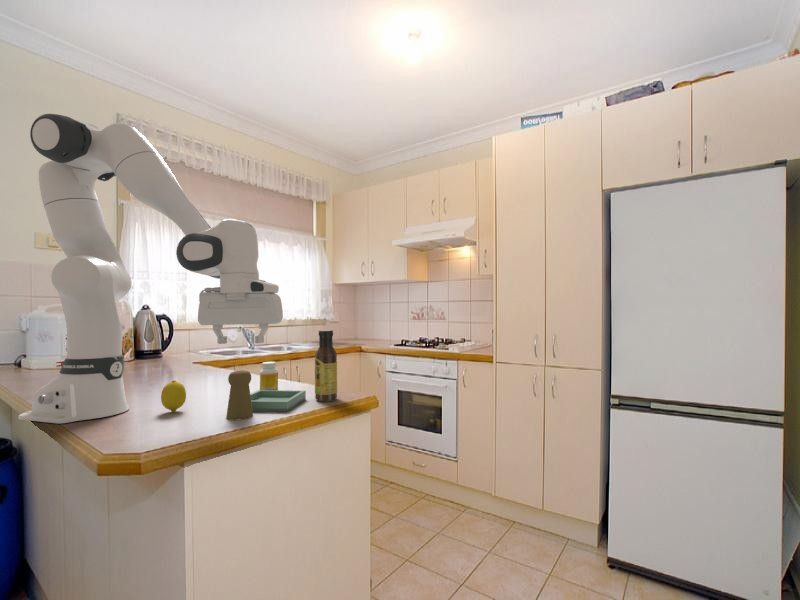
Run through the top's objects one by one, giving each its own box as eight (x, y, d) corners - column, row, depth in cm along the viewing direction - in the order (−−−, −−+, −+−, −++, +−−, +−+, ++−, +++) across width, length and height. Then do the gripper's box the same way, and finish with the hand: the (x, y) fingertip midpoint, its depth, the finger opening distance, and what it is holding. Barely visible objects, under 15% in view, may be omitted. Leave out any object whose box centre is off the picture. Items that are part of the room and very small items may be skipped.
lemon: (155, 413, 100) (156, 381, 100) (175, 408, 105) (175, 377, 105) (171, 415, 98) (171, 382, 98) (191, 410, 103) (191, 379, 103)
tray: (234, 410, 102) (234, 401, 102) (258, 398, 116) (258, 390, 116) (287, 411, 101) (287, 401, 101) (305, 399, 115) (305, 390, 115)
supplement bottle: (257, 393, 124) (257, 362, 124) (275, 391, 127) (275, 360, 127) (261, 396, 119) (262, 364, 120) (280, 394, 122) (280, 362, 122)
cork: (243, 420, 93) (243, 373, 93) (220, 419, 94) (220, 372, 95) (258, 413, 99) (258, 369, 99) (236, 412, 100) (236, 368, 101)
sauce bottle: (315, 397, 117) (315, 329, 117) (337, 396, 118) (336, 329, 118) (314, 402, 110) (314, 330, 111) (337, 401, 111) (337, 330, 112)
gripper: (191, 287, 95) (192, 345, 95) (274, 284, 93) (275, 343, 93) (206, 288, 102) (207, 342, 101) (284, 285, 100) (285, 341, 99)
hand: (240, 343), depth 97 cm, fingers open, 8 cm apart
